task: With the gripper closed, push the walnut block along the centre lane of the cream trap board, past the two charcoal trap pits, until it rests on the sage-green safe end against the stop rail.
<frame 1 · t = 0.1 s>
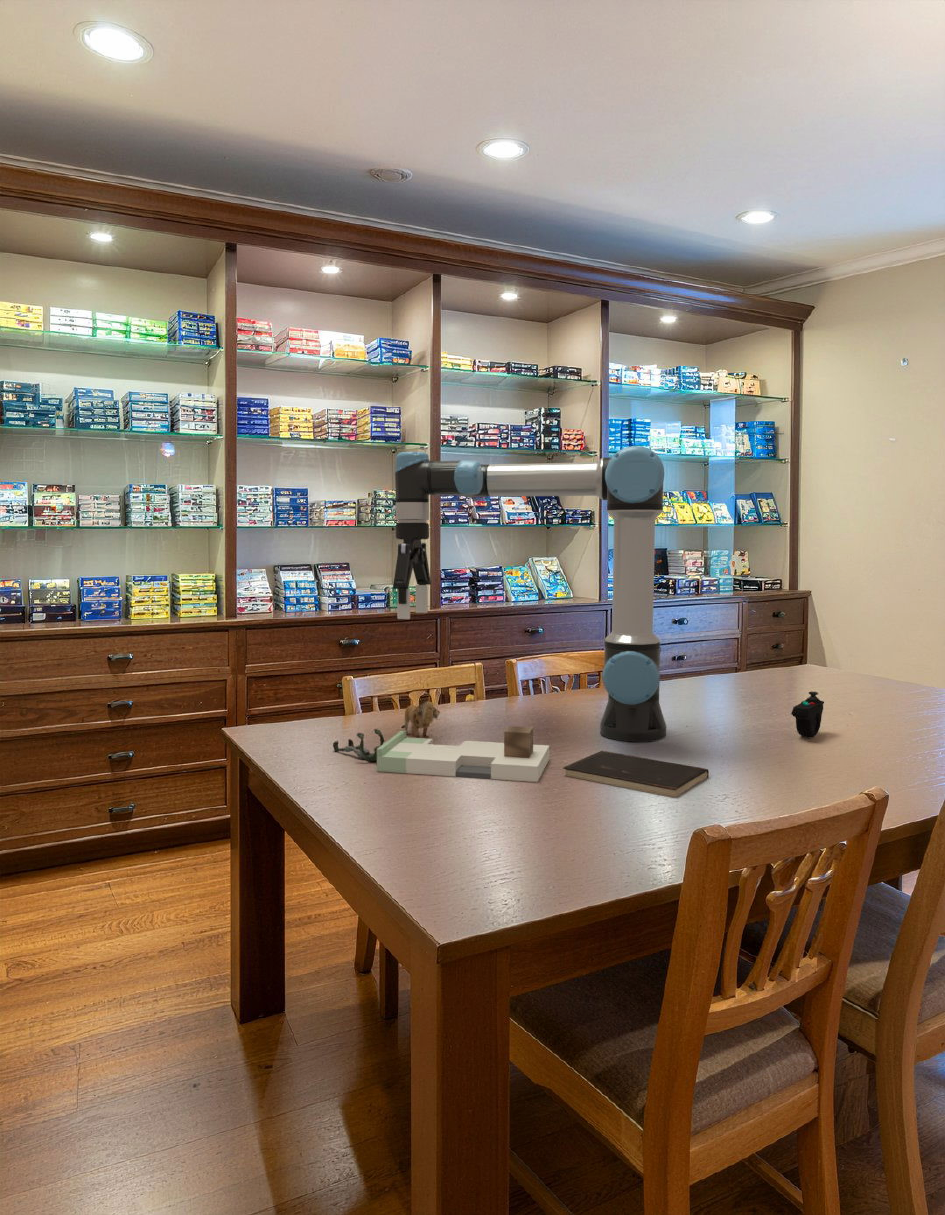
hand: (413, 615, 194), 28 cm above the table, fingers open, 13 cm apart
lion figurine: (418, 737, 197), on the table
hardcover book: (635, 780, 166), on the table
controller: (806, 738, 196), on the table
trap board: (465, 765, 173), on the table
walnut block: (518, 754, 170), point 3 cm above the table, touching trap board
zombie figurine: (360, 759, 180), on the table
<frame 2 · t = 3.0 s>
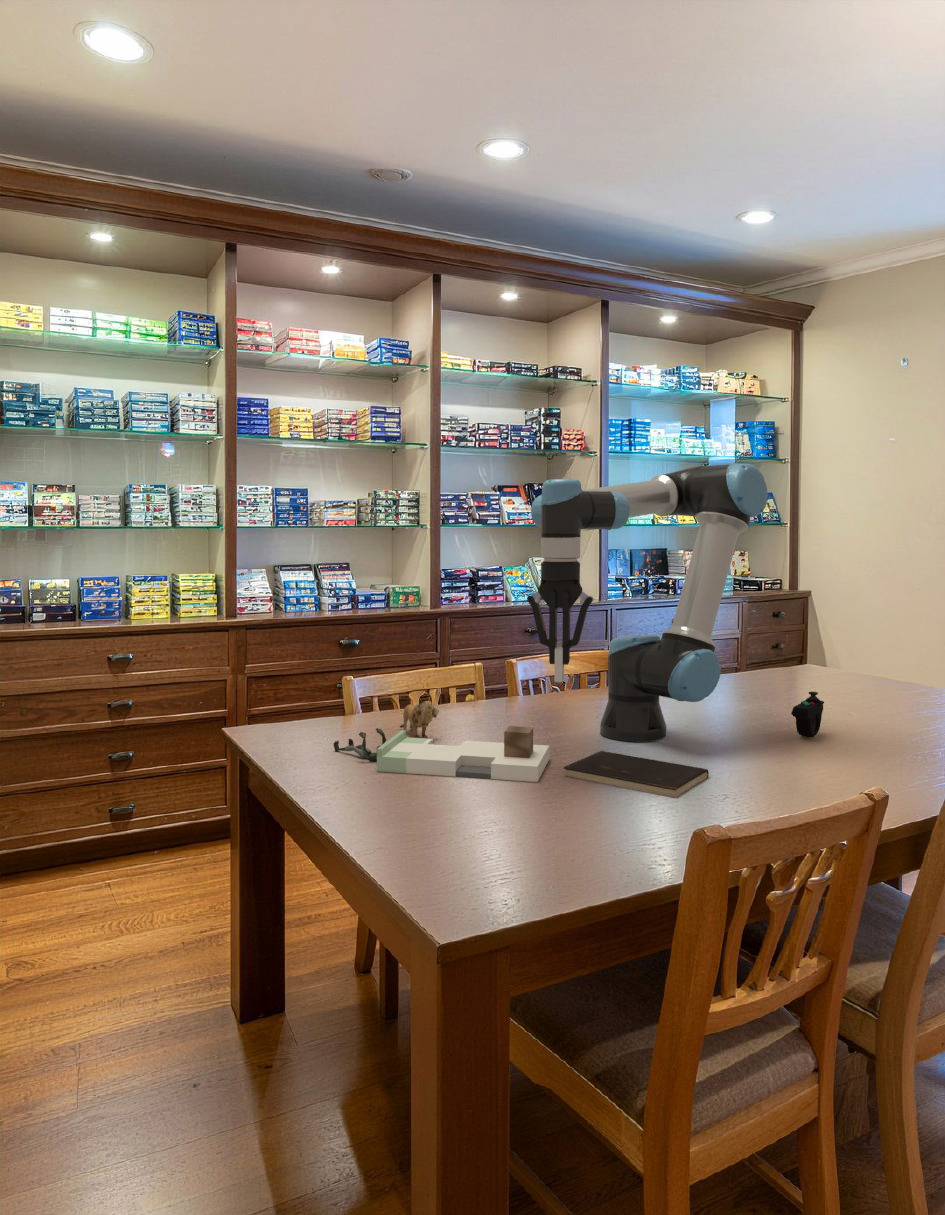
hand: (559, 680, 167), 18 cm above the table, fingers closed
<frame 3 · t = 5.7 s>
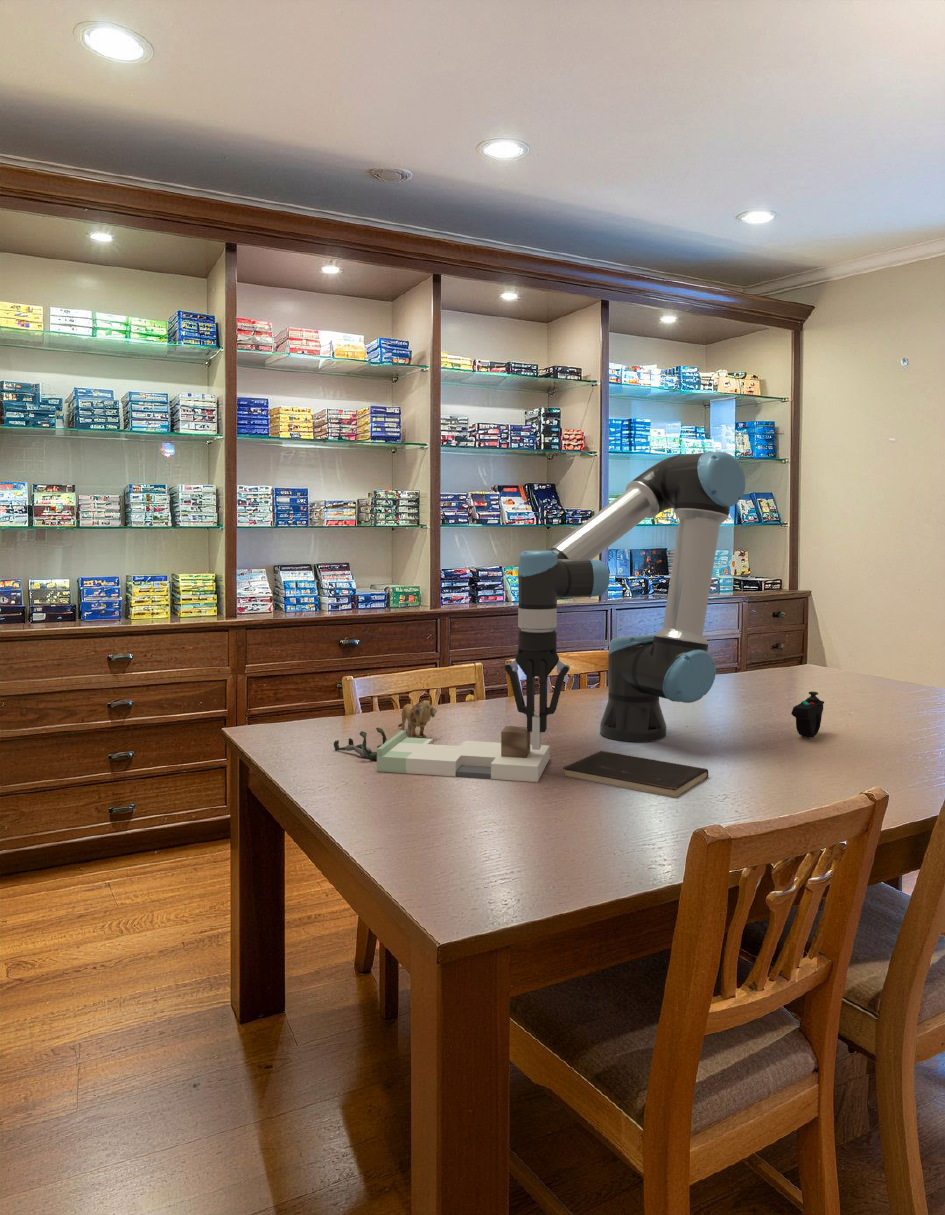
hand: (536, 747, 169), 5 cm above the table, fingers closed
walnut block: (515, 754, 171), point 3 cm above the table, touching gripper, trap board
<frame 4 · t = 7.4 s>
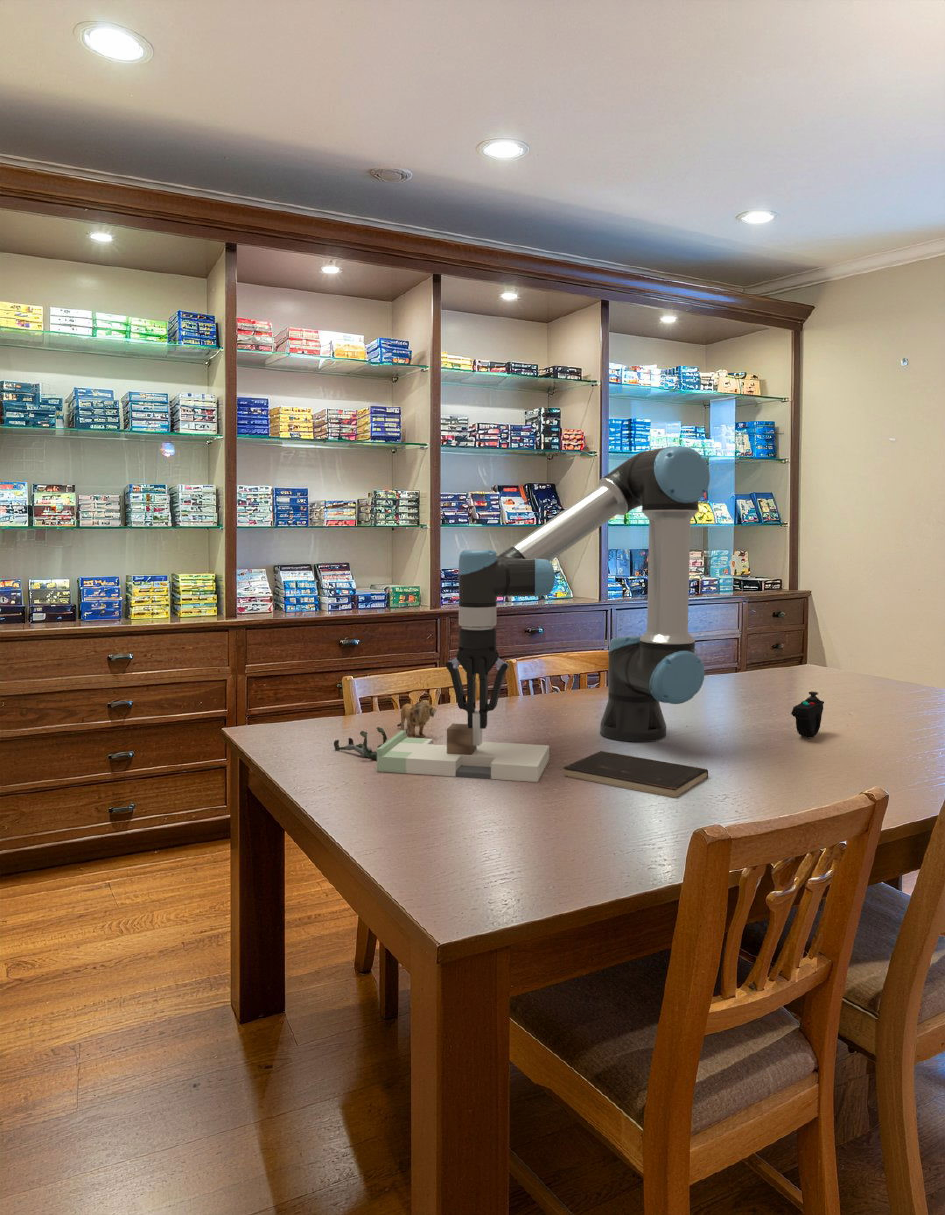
hand: (477, 744, 172), 5 cm above the table, fingers closed
walnut block: (461, 751, 173), point 3 cm above the table, touching gripper
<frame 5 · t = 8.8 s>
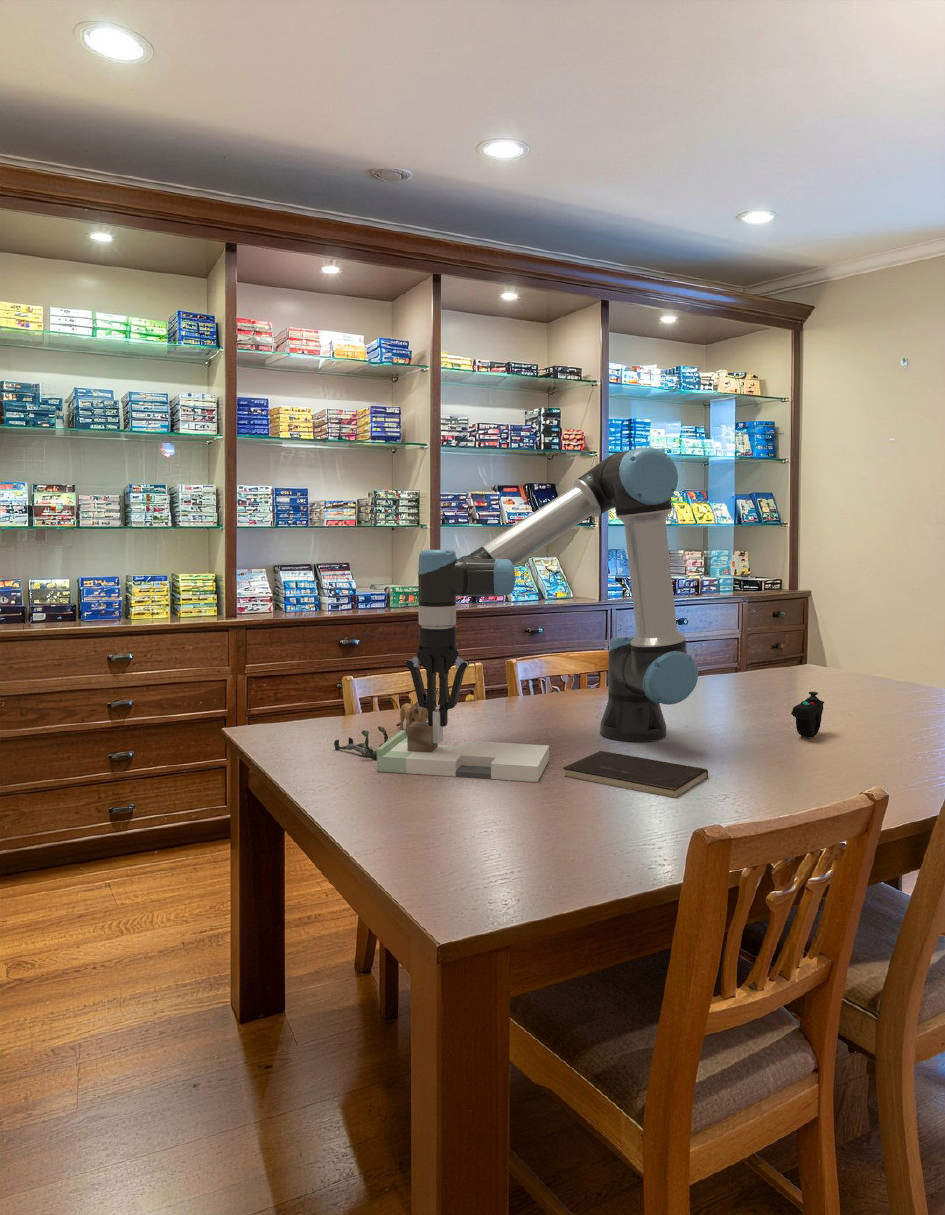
hand: (437, 741, 174), 5 cm above the table, fingers closed
walnut block: (422, 748, 175), point 3 cm above the table, touching gripper, trap board
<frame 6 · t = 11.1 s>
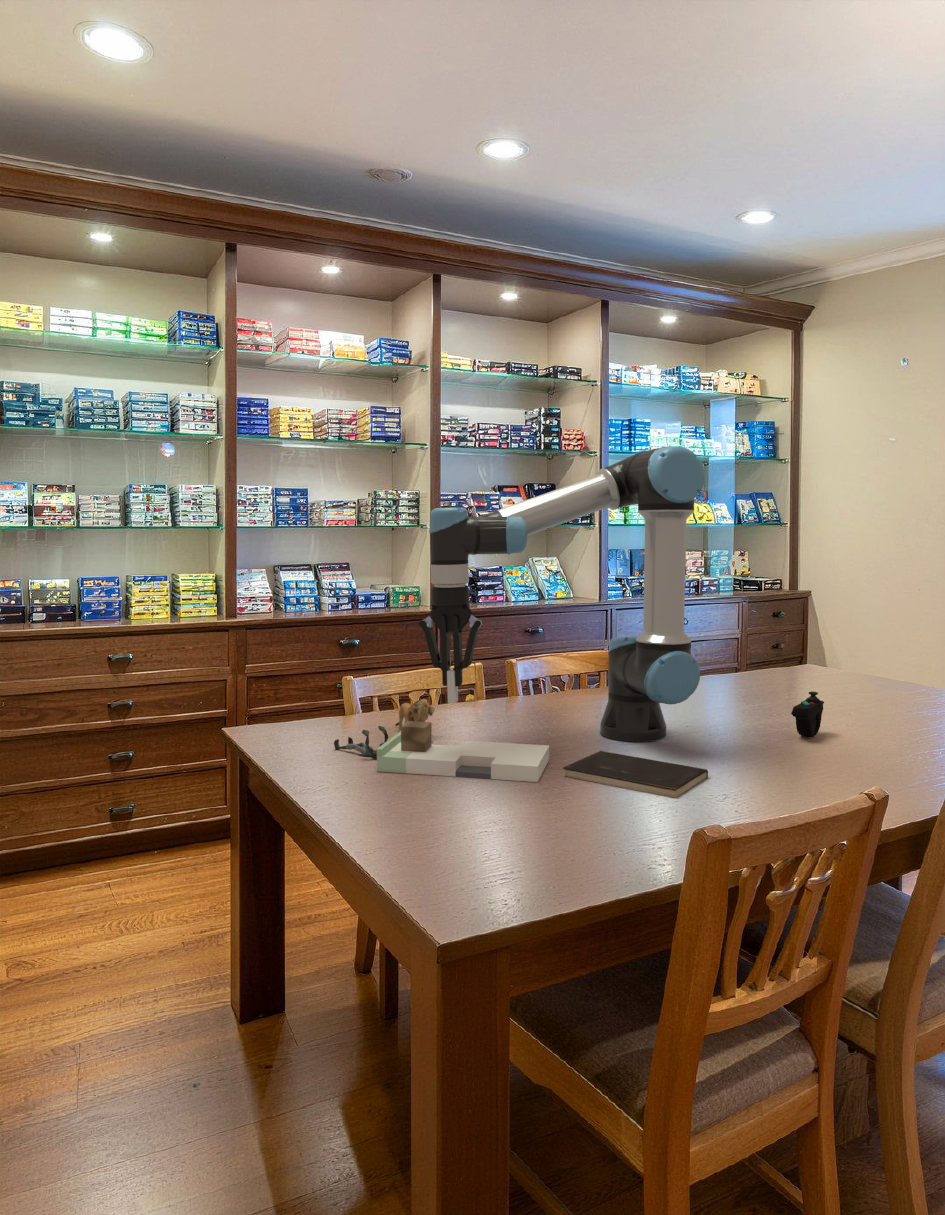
hand: (453, 701, 173), 13 cm above the table, fingers closed
walnut block: (416, 748, 175), point 3 cm above the table, touching trap board
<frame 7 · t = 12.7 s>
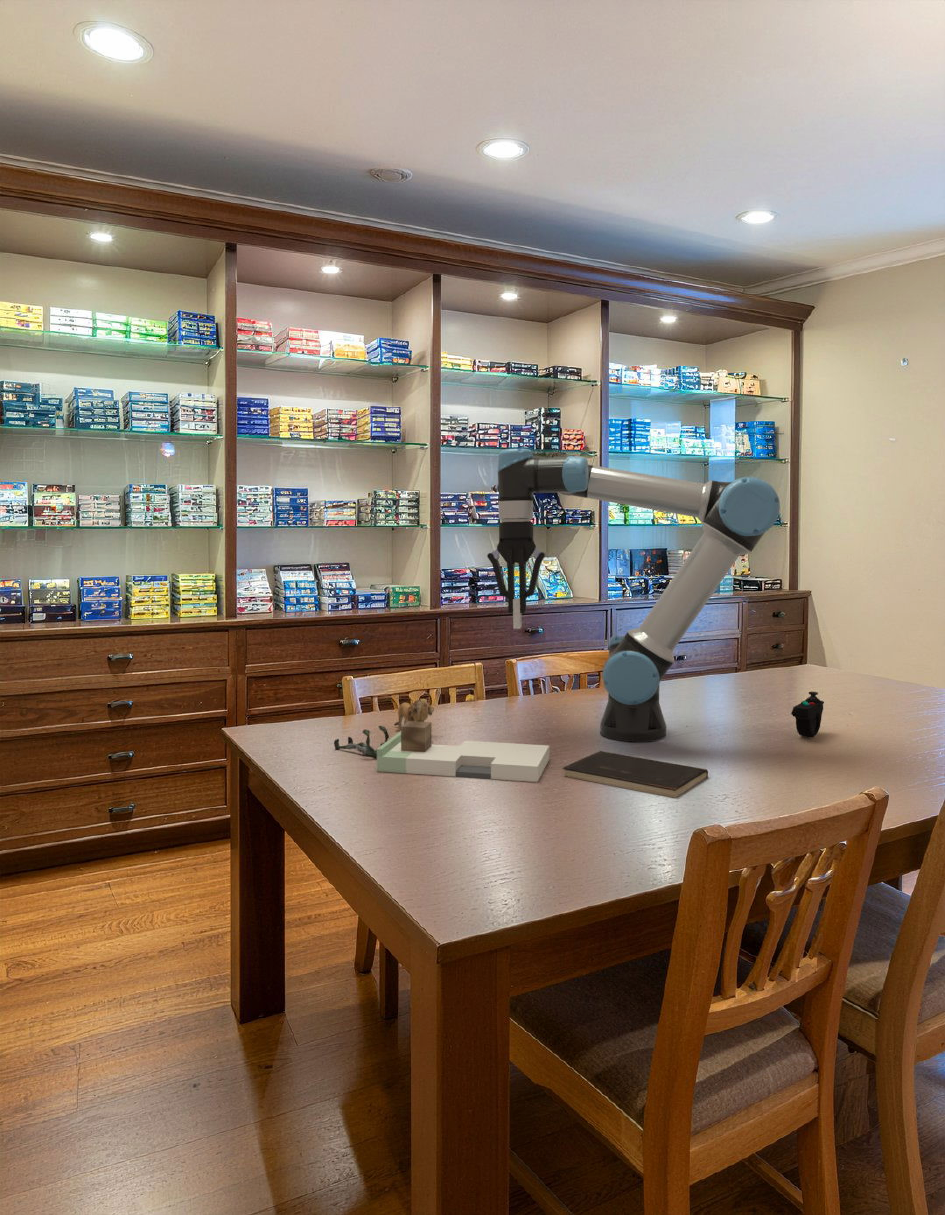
hand: (517, 627, 189), 26 cm above the table, fingers closed
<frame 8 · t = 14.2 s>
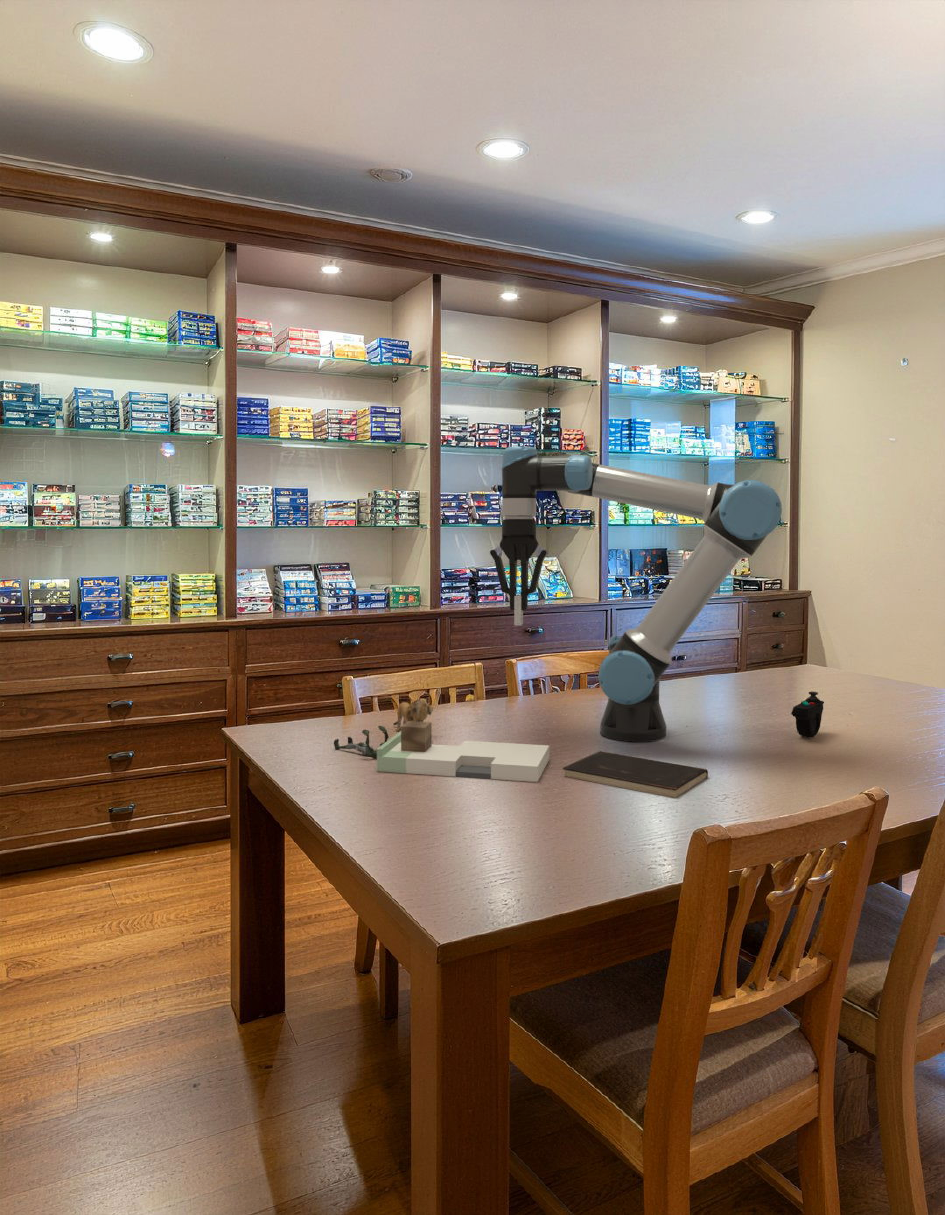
hand: (518, 624, 190), 26 cm above the table, fingers closed
at the end: walnut block inside the target area on the trap board (2.2 cm from its centre), point 3.0 cm above the trap board's base; walnut block tilted 0° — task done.
